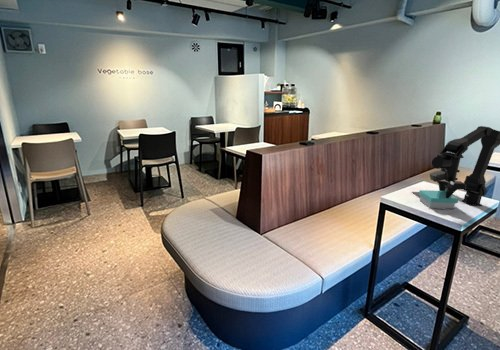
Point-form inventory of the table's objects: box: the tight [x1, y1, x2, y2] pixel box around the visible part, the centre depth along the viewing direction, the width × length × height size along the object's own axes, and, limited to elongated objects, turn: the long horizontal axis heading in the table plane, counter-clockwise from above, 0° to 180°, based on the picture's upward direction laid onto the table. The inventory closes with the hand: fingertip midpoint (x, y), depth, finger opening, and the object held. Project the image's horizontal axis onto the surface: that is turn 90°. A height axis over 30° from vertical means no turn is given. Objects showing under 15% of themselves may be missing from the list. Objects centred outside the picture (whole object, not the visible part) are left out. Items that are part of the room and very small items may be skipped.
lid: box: [418, 189, 459, 204], centre depth 149 cm, size 13×11×6 cm
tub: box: [419, 196, 456, 210], centre depth 151 cm, size 12×10×5 cm
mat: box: [411, 191, 421, 199], centre depth 163 cm, size 14×11×1 cm
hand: (444, 196), depth 145 cm, fingers open, 5 cm apart
